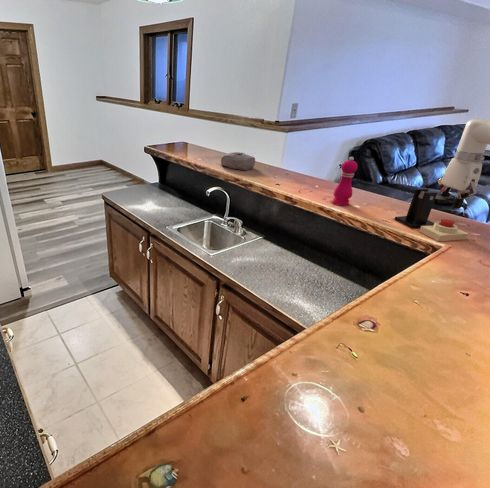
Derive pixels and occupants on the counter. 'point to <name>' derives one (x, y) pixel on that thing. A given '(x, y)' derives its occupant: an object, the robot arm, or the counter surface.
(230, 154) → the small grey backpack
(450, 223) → the button
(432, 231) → the button block
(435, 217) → the counter surface
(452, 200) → the toaster lever
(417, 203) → the lever bracket
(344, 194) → the pepper mill
